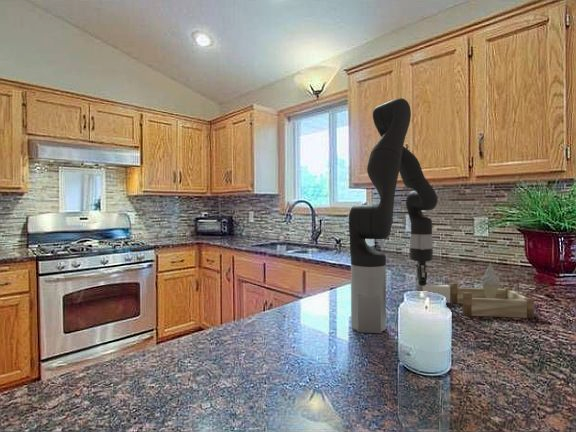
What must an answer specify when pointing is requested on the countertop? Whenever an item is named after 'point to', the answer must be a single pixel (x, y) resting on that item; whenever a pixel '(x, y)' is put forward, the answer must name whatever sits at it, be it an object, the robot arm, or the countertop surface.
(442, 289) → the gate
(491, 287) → the ice cream cone
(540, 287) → the countertop surface
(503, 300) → the shallow wooden tray
